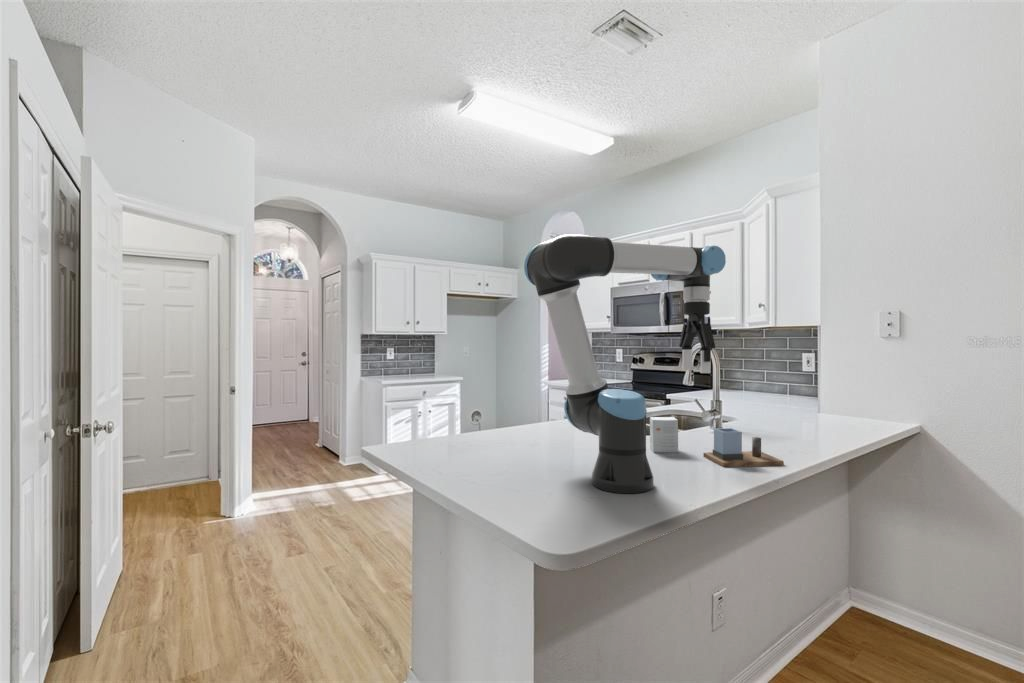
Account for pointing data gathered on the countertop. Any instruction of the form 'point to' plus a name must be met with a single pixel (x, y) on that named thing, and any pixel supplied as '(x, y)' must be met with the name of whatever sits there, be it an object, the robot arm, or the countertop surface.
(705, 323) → the robot arm
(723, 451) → the sleeve
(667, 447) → the small box
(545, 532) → the countertop surface
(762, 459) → the pin board
